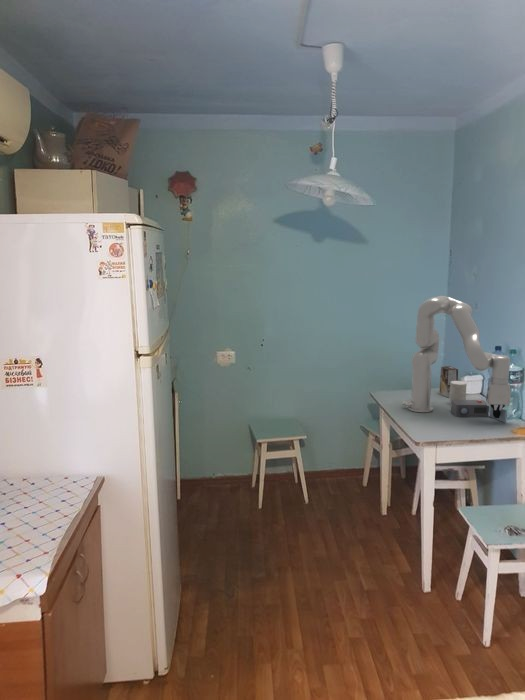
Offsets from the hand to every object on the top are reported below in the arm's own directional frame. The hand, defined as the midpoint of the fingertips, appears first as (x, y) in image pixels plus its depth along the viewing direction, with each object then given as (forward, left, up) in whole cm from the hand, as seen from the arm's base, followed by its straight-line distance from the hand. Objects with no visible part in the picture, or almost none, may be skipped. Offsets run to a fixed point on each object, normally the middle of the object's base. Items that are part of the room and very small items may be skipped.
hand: (496, 417), depth 254 cm
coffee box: (-10, +48, -3) cm, 49 cm away
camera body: (-9, +13, -2) cm, 16 cm away
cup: (-10, +30, -3) cm, 31 cm away
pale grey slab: (+2, +3, -2) cm, 5 cm away
